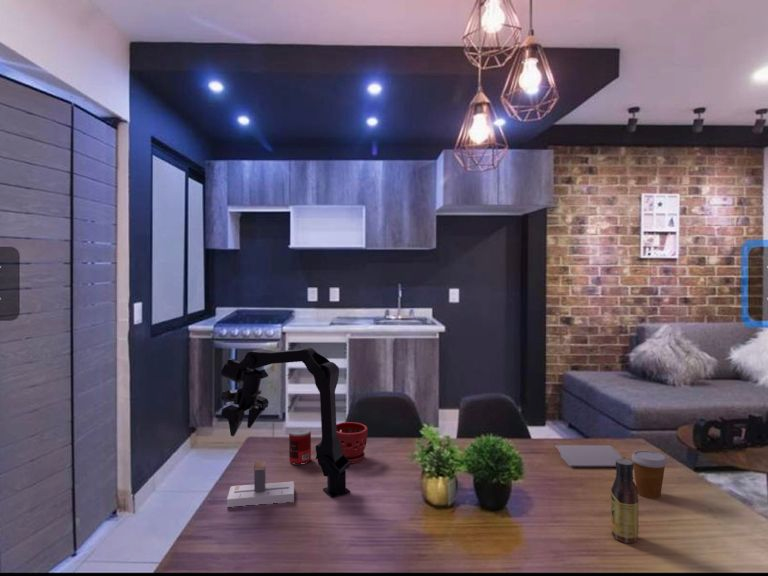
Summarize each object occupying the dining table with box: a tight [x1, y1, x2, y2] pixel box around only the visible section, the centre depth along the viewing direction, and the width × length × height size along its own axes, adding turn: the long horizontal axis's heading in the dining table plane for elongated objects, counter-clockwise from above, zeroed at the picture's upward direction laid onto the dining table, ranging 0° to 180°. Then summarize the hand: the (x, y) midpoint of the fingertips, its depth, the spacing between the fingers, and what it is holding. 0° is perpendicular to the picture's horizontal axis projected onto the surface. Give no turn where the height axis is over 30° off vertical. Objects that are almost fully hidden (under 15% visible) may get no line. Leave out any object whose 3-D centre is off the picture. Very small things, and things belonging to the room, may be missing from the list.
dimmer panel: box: [226, 481, 295, 508], centre depth 146 cm, size 19×9×3 cm, turn 100°
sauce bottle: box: [610, 458, 639, 544], centre depth 123 cm, size 7×6×20 cm
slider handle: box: [253, 460, 267, 492], centre depth 146 cm, size 3×5×8 cm
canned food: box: [288, 427, 312, 464], centre depth 176 cm, size 8×8×11 cm
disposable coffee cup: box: [630, 449, 667, 500], centre depth 148 cm, size 10×10×12 cm
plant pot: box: [336, 421, 368, 464], centre depth 177 cm, size 13×13×12 cm
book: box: [554, 444, 624, 468], centre depth 176 cm, size 15×23×4 cm, turn 89°
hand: (240, 431), depth 161 cm, fingers open, 9 cm apart
